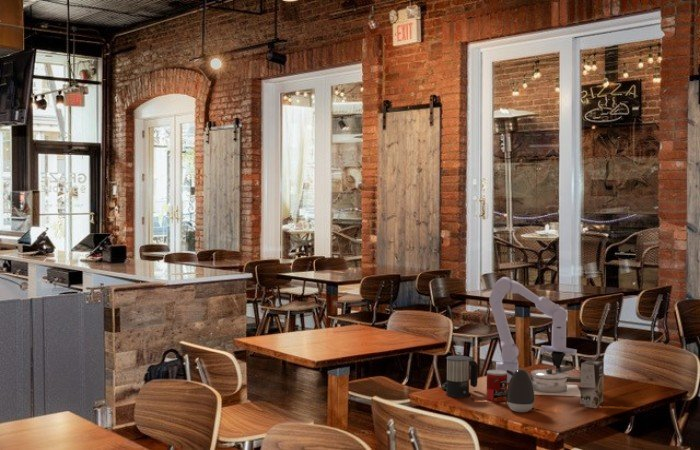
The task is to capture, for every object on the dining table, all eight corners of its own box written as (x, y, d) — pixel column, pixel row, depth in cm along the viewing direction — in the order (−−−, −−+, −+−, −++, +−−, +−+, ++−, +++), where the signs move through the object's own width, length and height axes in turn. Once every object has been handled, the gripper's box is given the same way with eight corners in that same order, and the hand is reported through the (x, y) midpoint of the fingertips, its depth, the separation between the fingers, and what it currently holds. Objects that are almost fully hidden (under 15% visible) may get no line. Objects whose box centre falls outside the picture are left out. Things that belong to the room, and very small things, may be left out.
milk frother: (460, 399, 315) (460, 360, 315) (427, 392, 326) (427, 355, 326) (481, 393, 326) (481, 355, 325) (448, 386, 336) (449, 350, 336)
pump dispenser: (508, 405, 306) (509, 365, 305) (536, 409, 302) (537, 367, 301) (502, 412, 297) (503, 370, 296) (531, 415, 293) (532, 372, 292)
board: (530, 396, 321) (530, 393, 321) (526, 385, 341) (527, 382, 341) (583, 399, 318) (583, 396, 318) (576, 387, 338) (576, 385, 338)
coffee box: (596, 408, 303) (597, 365, 303) (579, 406, 307) (580, 363, 306) (603, 403, 311) (604, 361, 311) (586, 401, 315) (587, 359, 314)
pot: (524, 391, 324) (525, 378, 324) (522, 384, 338) (523, 370, 338) (590, 395, 321) (590, 380, 320) (585, 387, 334) (585, 373, 334)
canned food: (494, 403, 309) (495, 374, 309) (482, 399, 316) (482, 370, 316) (511, 401, 312) (511, 372, 312) (498, 397, 320) (498, 368, 319)
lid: (554, 380, 319) (555, 374, 319) (523, 374, 330) (523, 368, 330) (585, 373, 335) (585, 367, 335) (554, 367, 345) (554, 361, 345)
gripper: (538, 336, 338) (537, 369, 339) (572, 340, 330) (571, 374, 330) (544, 334, 344) (544, 366, 345) (578, 338, 336) (578, 371, 336)
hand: (558, 370), depth 338 cm, fingers closed, pressing on lid
